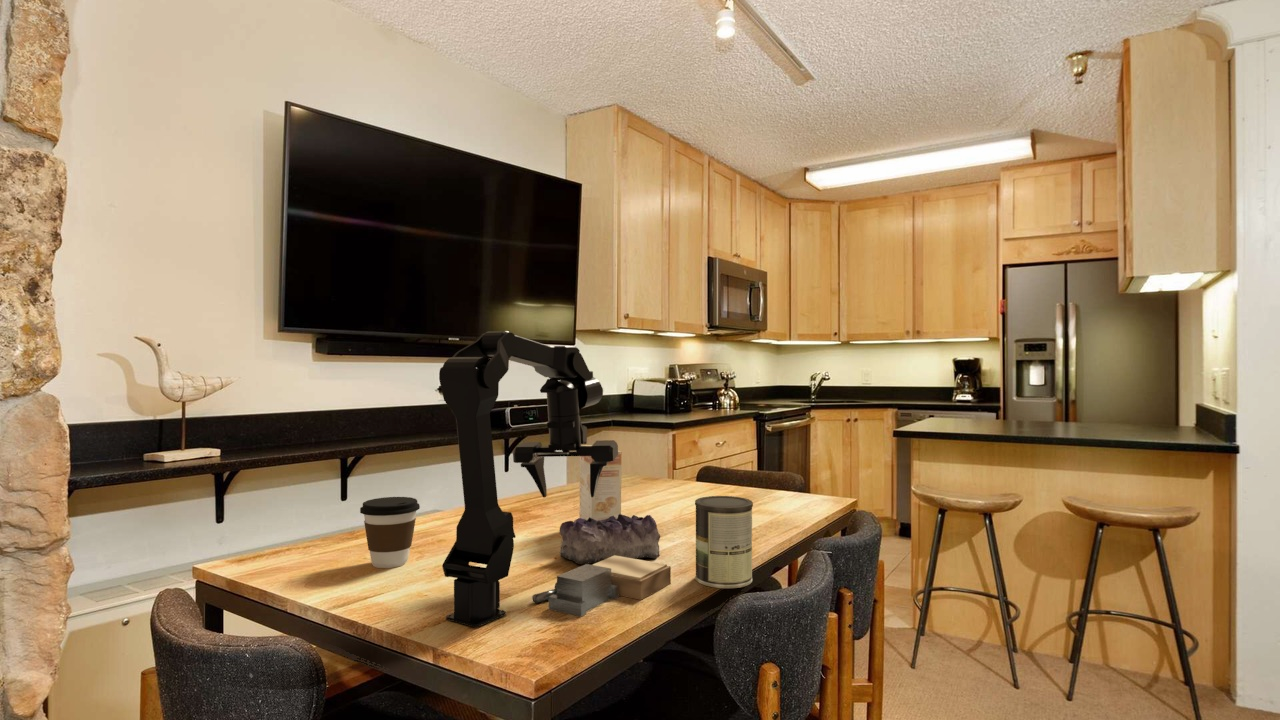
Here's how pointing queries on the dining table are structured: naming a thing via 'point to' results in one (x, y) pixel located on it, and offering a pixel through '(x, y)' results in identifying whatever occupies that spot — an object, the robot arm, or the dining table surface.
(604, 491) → the coffeecake box
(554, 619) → the dining table surface
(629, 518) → the geode
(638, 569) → the stand
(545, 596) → the bolt
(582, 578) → the block
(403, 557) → the coffee cup
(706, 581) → the coffee can
